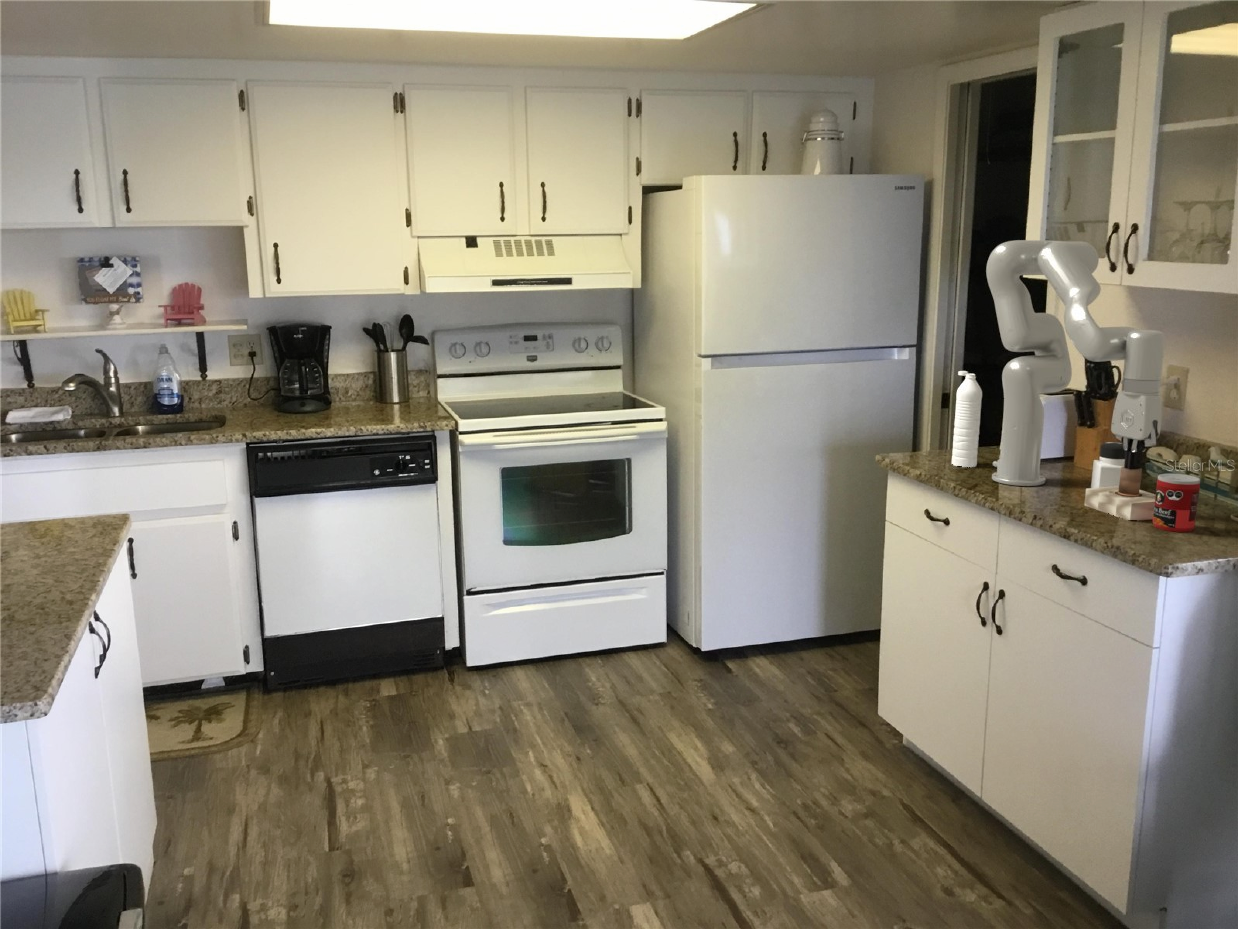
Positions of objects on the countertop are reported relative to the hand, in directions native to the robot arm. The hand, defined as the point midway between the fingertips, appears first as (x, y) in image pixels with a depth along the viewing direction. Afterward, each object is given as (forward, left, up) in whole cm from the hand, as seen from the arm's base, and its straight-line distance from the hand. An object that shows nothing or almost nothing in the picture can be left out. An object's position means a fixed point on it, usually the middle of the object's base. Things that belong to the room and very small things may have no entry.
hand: (1132, 468), depth 230 cm
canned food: (+13, 0, -10) cm, 17 cm away
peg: (0, 0, -10) cm, 10 cm away
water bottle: (-53, -7, -10) cm, 55 cm away
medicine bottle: (-16, +9, -10) cm, 21 cm away
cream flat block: (0, 0, -10) cm, 10 cm away
